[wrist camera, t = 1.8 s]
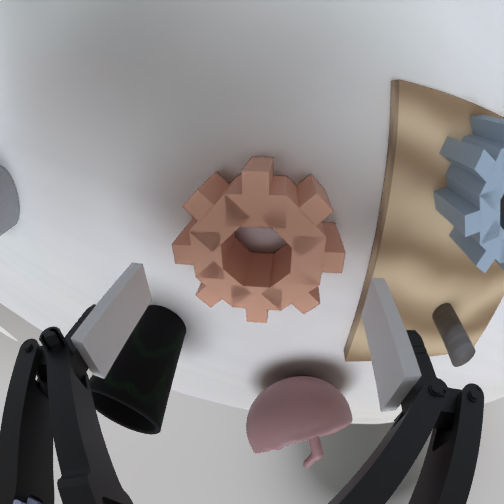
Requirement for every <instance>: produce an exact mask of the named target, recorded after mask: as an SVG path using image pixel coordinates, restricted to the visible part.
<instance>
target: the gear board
mask: <svg viewBox="0 0 504 504" xmlns="http://www.w3.org/2000/svg"><path fill="white" fill-rule="evenodd" d="M476 115H487V116H492V117H497V118H501V119H504V117H502V116H500V115H498V114H496V113H493V112H491V111H489V110H487V109H485V108H483V107H480V106H478V105H476V104H473V103H471V102H468V101H466V100H463V99H461V98H458V97H455V96H453V95H450V94H447V93H444V92H441V91H438V90H435V89H432V88H428V87H425V86H422V85H418V84H414V83H411V82H407V81H403V80H395V81H391V115H390V132H389V145H388V155H387V164H386V173H385V181H384V188H383V195H382V201H381V207H380V213H379V219H378V224H377V229H376V234H375V239H374V244H373V249H372V253H371V258H370V262H369V266H368V270H367V275H366V278H365V282H364V286H363V290H362V294H361V297H360V301H359V304H358V308H357V311H356V315H355V318H354V321H353V324H352V328H351V331H350V334H349V337H348V340H347V343H346V346H345V349H344V356H345V361H372V360H371V355H370V351H369V346H368V342H367V338H366V333H365V329H364V325H363V321H362V317H361V314H362V311H363V307H364V304H365V300H366V297H367V293H368V290H369V286H370V282H371V278H384V279H385V281H386V283H387V285H388V288H389V290H390V292H391V295H392V297H393V299H394V302H395V304H396V306H397V309H398V311H399V314H400V316H401V319H402V321H403V324H404V326H405V329H406V330H416V332H417V333H418V334H419V335H420V336H421V337H422V340H423V342H424V345H425V346H424V347H426V350H427V353H428V355H429V356H437V355H445V354H449V357H450V359H451V362H452V364H453V366H455V367H458V366H461V365H463V364H465V363H467V362H468V361H469V360H470V359H471V358H472V357H473V356H474V354H475V349H474V346H475V344H476V343H477V341H478V340H479V338H480V336H481V335H482V333H483V332H484V330H485V328H486V327H487V325H488V323H489V321H490V320H491V318H492V316H493V314H494V313H495V311H496V309H497V307H498V305H499V303H500V301H501V299H502V297H503V295H504V270H503V269H502V268H501V267H500V266H499V265H498V263H497V262H496V261H495V260H494V261H493V263H492V264H491V266H490V267H489V269H488V270H487V271H486V273H484V272H483V271H481V270H480V269H479V268H478V267H476V266H475V265H474V263H473V262H472V261H471V260H470V259H469V257H468V256H467V255H466V254H465V253H464V252H463V251H462V250H461V248H460V247H459V246H458V245H457V244H456V243H455V242H454V241H453V240H452V239H451V238H450V237H449V234H450V233H451V231H452V230H453V228H454V226H453V225H452V224H451V223H450V222H449V221H448V220H447V219H445V218H444V217H443V216H442V215H441V214H440V213H439V212H438V211H437V210H436V209H435V201H434V193H433V191H435V190H439V189H442V188H445V187H447V182H446V175H445V174H446V172H447V170H448V169H449V167H450V165H451V163H450V162H449V161H448V160H447V159H445V158H444V157H443V156H442V155H441V154H439V153H440V151H441V149H442V146H443V144H444V142H445V140H446V138H447V136H448V137H451V138H454V139H457V140H460V141H462V139H463V137H464V136H467V135H471V134H473V132H472V127H471V122H470V118H469V117H470V116H476ZM500 211H501V212H502V213H503V214H504V194H503V196H502V198H501V200H500Z"/></svg>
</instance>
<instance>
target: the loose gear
mask: <svg viewBox="0 0 504 504" xmlns="http://www.w3.org/2000/svg"><path fill="white" fill-rule="evenodd" d="M182 207H183V208H184V209H185V210H186V211H187V212H188V213H190V214H191V215H192V216H193V218H192V219H191V220H190V222H189V223H188V224H187V226H186V227H185V228H184V229H183V231H182V232H181V233H180V235H179V236H178V237H177V238H176V240H175V241H174V242H173V244H172V248H173V254H174V259H175V264H186V265H194V270H195V277H196V278H197V279H198V280H200V281H201V284H200V286H199V288H198V291H197V293H196V296H197V297H198V298H199V299H201V300H202V301H203V302H204V303H206V304H207V305H208V306H209V307H212V306H214V305H215V304H216V303H218V302H219V301H220V300H222V299H223V300H224V301H226V302H227V303H228V304H229V305H231V306H232V307H238V308H246V318H247V321H248V322H261V323H267V316H268V310H282V309H284V308H285V307H287V306H289V305H290V304H292V305H294V306H295V307H296V308H297V309H298V310H299V311H300V312H302V313H303V314H305V313H306V312H308V311H310V310H311V309H313V308H314V307H316V306H317V305H319V304H320V298H319V289H318V285H320V279H321V273H322V272H326V273H342V270H343V265H344V259H345V250H344V247H343V244H342V241H341V238H340V235H339V232H338V229H337V226H336V224H335V223H325V222H322V221H323V220H324V219H325V218H327V217H328V216H329V215H330V214H332V213H333V209H332V207H331V204H330V202H329V199H328V197H327V194H326V192H325V189H324V188H323V187H322V186H321V185H320V184H319V182H318V181H317V180H316V179H315V178H314V177H313V176H312V175H311V174H310V175H309V176H308V177H306V178H305V179H304V180H303V181H302V182H301V183H299V184H298V185H297V186H296V185H295V184H294V183H293V181H292V180H291V179H290V178H289V177H288V176H273V157H251V159H250V160H249V162H248V163H247V164H246V166H245V167H244V168H243V170H242V175H238V176H237V177H236V178H235V179H234V180H233V181H232V182H231V183H230V184H229V183H228V182H227V181H226V180H225V179H224V178H222V177H221V176H220V175H219V174H218V173H217V172H215V173H214V174H213V175H212V176H211V177H210V178H209V179H208V180H207V181H206V182H205V183H204V184H203V185H202V186H200V187H199V188H198V189H197V190H196V192H195V193H194V194H193V195H192V196H191V197H190V198H189V199H188V201H187V202H186V203H185V204H184V205H183V206H182ZM240 226H245V227H269V228H272V229H273V230H274V231H275V232H276V233H277V234H278V235H279V236H280V237H282V238H283V239H284V240H285V241H286V242H287V244H285V245H284V246H283V247H282V248H280V249H279V250H278V251H277V252H275V253H274V254H272V253H252V252H250V251H249V250H248V249H247V248H246V247H245V246H244V245H243V244H242V243H240V242H239V241H238V240H237V239H236V238H235V231H236V230H237V229H238V228H239V227H240Z"/></svg>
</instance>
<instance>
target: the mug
mask: <svg viewBox="0 0 504 504" xmlns="http://www.w3.org/2000/svg"><path fill="white" fill-rule="evenodd" d="M19 214H20V206H19V198H18V193H17V190H16V187H15V184H14V181H13V179H12V177H11V176H10V174H9V172H8V171H7V170H6V169H5V168H3V167H2V166H0V236H1V235H2V234H4V233H5V232H6V231H8V230H9V229H10V228H12V227H13V226H15V225H16V224H17V222H18V219H19Z"/></svg>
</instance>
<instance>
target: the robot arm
mask: <svg viewBox="0 0 504 504" xmlns="http://www.w3.org/2000/svg"><path fill="white" fill-rule="evenodd" d="M151 301H152V298H151V294H150V290H149V287H148V283H147V279H146V275H145V271H144V267H143V264H140V263H132V264H131V265H130V266H129V267H128V268H127V269H126V270H125V272H124V273H123V274H122V275H121V276H120V277H119V278H118V280H117V281H116V282H115V283H114V284H113V285H112V287H111V288H110V289H109V290H108V291H107V293H106V294H105V295H104V296H103V297H102V299H101V300H100V301H99V302H98V304H97V305H95V304H94V305H92V306H91V307H89V308H88V309H87V310H86V311H85V312H84V313H83V315H82V317H80V318H79V320H78V322H76V323H75V325H74V326H73V327H72V328H71V330H70V331H69V332H68V334H67V335H66V336H65V338H64V336H63V335H62V333H61V331H60V329H59V328H57V327H49V328H47V329H45V330H44V331H43V332H42V333H41V335H40V338H39V340H40V341H41V343H42V345H43V346H40V345H39V344H38V342H37V341H36V340H35V339H28V340H26V341H25V342H24V343H23V344H22V345H21V347H20V350H19V353H18V356H17V359H16V363H15V366H14V370H13V373H12V376H11V380H10V384H9V388H8V392H7V397H6V402H5V407H4V412H3V418H2V424H1V431H0V504H54V479H53V437H54V442H55V448H56V452H57V457H58V461H59V466H60V470H61V474H62V476H61V478H60V479H58V482H57V484H58V490H59V493H60V496H61V499H62V503H63V504H133V502H132V500H131V499H130V497H129V496H128V494H127V493H126V492H125V491H124V490H123V488H122V487H121V485H120V482H119V480H118V477H117V475H116V472H115V470H114V467H113V465H112V462H111V459H110V456H109V454H108V451H107V448H106V445H105V441H104V438H103V435H102V432H101V428H100V425H99V421H98V417H97V414H96V410H95V406H94V401H93V397H92V392H91V388H90V383H89V378H88V375H87V373H86V371H87V370H88V368H89V369H90V371H91V372H92V374H93V375H95V376H98V377H101V378H103V379H105V377H106V375H107V374H108V372H109V370H110V368H111V367H112V365H113V363H114V361H115V360H116V358H117V356H118V354H119V353H120V351H121V349H122V348H123V346H124V344H125V343H126V341H127V339H128V338H129V336H130V334H131V333H132V331H133V329H134V328H135V326H136V325H137V323H138V321H139V320H140V318H141V317H142V315H143V313H144V312H145V310H146V309H147V307H148V305H149V304H150V302H151ZM361 317H362V321H363V325H364V329H365V333H366V338H367V342H368V346H369V351H370V355H371V360H372V365H373V370H374V375H375V380H376V385H377V391H378V397H379V403H380V409H381V412H384V411H392V410H396V409H397V408H398V407H399V406H400V404H401V406H402V412H401V413H400V414H399V415H398V416H397V418H396V419H395V420H394V421H395V422H394V424H393V425H392V427H391V428H390V430H389V431H388V433H387V434H386V436H385V437H384V438H383V440H382V441H381V443H380V444H379V446H378V447H377V448H376V449H375V451H374V452H373V453H372V455H371V456H370V457H369V459H368V460H367V461H366V462H365V463H364V465H363V466H362V467H361V468H360V470H359V471H358V472H357V473H356V474H355V475H354V477H353V478H352V479H351V480H350V481H349V482H348V483H347V485H346V486H345V487H344V488H343V489H342V490H341V491H340V492H339V493H338V494H337V495H336V496H335V497H334V498H333V499H332V501H330V502H329V503H328V504H385V503H386V502H387V501H388V499H389V498H390V497H391V495H392V494H393V493H394V491H395V490H396V489H397V487H398V486H399V484H400V483H401V482H402V480H403V479H404V477H405V476H406V474H407V473H408V471H409V469H410V468H411V466H412V465H413V463H414V461H415V459H416V458H417V456H418V455H419V453H420V451H421V450H422V448H423V446H424V444H425V442H426V441H427V439H428V437H429V435H430V433H431V431H432V429H433V431H432V435H431V439H430V443H429V447H428V450H427V454H426V457H425V461H424V464H423V467H422V470H421V473H420V475H419V479H418V481H417V484H416V486H415V489H414V492H413V494H412V497H411V499H410V501H409V504H466V502H467V499H468V495H469V492H470V488H471V485H472V481H473V476H474V472H475V468H476V463H477V457H478V451H479V446H480V439H481V431H482V421H483V408H484V394H483V391H482V389H481V388H480V387H479V386H478V385H476V384H468V385H466V386H465V387H464V388H463V389H462V390H459V389H453V388H448V387H447V385H446V384H445V382H443V381H442V380H441V379H438V378H437V377H436V375H435V372H434V369H433V366H432V363H431V361H430V358H429V355H428V353H427V350H426V347H424V346H425V345H424V342H423V340H422V337H421V336H420V335H419V334H418V333H417V332H416V330H406V329H405V326H404V324H403V321H402V319H401V316H400V314H399V311H398V309H397V306H396V304H395V302H394V299H393V297H392V295H391V292H390V290H389V288H388V285H387V283H386V281H385V279H384V278H371V282H370V286H369V290H368V293H367V297H366V300H365V304H364V307H363V311H362V314H361ZM36 375H37V377H38V379H37V381H36V380H35V378H36Z"/></svg>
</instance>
